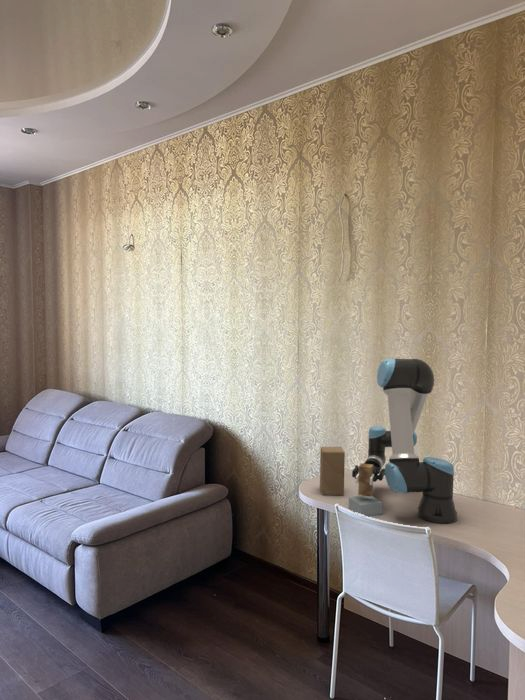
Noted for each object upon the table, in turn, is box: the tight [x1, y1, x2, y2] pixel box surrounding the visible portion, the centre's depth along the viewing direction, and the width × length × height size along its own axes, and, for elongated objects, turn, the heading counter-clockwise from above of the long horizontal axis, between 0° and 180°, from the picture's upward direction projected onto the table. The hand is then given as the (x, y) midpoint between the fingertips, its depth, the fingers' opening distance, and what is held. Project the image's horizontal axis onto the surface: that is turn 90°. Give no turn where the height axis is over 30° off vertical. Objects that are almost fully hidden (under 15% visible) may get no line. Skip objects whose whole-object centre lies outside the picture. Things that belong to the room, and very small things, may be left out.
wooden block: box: [319, 446, 346, 496], centre depth 233 cm, size 10×10×20 cm
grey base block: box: [348, 495, 383, 516], centre depth 210 cm, size 10×10×5 cm
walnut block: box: [357, 462, 374, 497], centre depth 209 cm, size 5×5×12 cm
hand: (363, 480), depth 204 cm, fingers closed on walnut block, 5 cm apart
